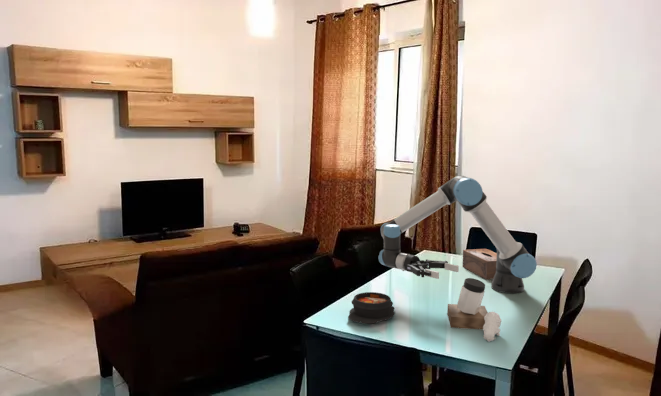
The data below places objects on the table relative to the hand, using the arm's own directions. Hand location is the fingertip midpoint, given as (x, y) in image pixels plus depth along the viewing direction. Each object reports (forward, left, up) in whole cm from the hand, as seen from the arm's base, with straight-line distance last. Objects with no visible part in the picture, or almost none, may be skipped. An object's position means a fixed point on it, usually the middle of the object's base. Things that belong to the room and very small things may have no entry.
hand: (448, 272), depth 210 cm
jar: (-7, +6, -13) cm, 17 cm away
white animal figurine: (-14, +21, -19) cm, 31 cm away
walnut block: (-8, +6, -19) cm, 22 cm away
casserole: (+31, +7, -19) cm, 37 cm away
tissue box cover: (-26, -71, -19) cm, 78 cm away
